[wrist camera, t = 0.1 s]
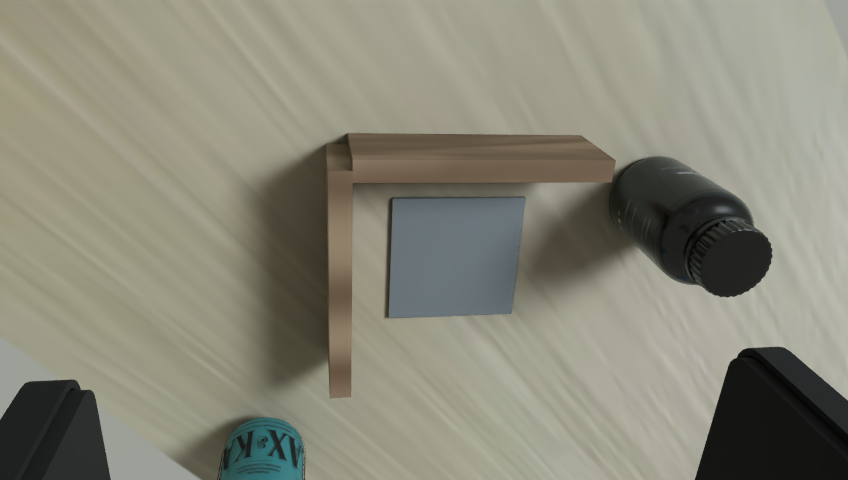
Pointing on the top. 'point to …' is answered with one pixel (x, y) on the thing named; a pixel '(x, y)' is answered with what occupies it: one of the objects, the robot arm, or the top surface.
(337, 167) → the wooden corner wall
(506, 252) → the mat
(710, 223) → the supplement bottle
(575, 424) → the top surface
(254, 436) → the beverage bottle
